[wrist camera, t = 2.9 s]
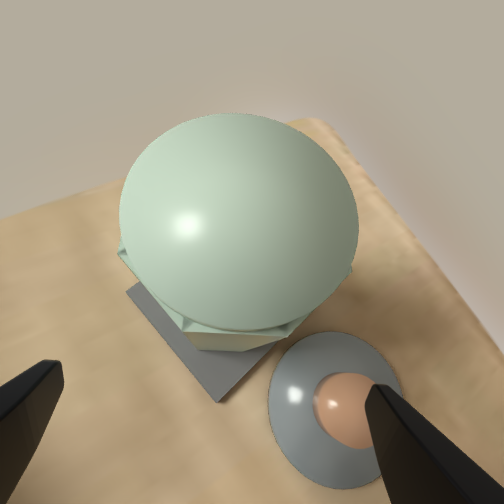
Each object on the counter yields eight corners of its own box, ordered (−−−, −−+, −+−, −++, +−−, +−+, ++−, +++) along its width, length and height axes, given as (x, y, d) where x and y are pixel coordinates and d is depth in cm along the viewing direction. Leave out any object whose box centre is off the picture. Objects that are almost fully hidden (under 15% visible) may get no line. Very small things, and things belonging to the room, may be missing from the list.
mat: (312, 304, 22) (315, 303, 21) (216, 402, 19) (216, 403, 18) (229, 216, 23) (229, 213, 23) (127, 293, 20) (125, 291, 20)
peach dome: (378, 405, 20) (401, 410, 17) (341, 453, 18) (360, 466, 16) (336, 359, 20) (352, 358, 18) (297, 403, 19) (310, 408, 17)
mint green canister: (293, 302, 21) (405, 222, 9) (218, 374, 19) (235, 396, 7) (228, 232, 22) (251, 80, 10) (150, 293, 20) (62, 188, 8)
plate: (424, 405, 21) (430, 406, 20) (341, 523, 18) (345, 529, 17) (329, 306, 22) (332, 304, 21) (238, 400, 19) (239, 401, 19)
